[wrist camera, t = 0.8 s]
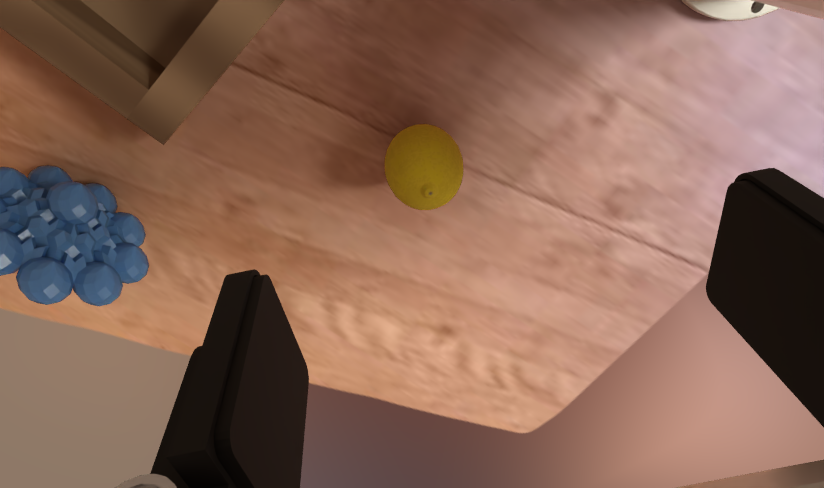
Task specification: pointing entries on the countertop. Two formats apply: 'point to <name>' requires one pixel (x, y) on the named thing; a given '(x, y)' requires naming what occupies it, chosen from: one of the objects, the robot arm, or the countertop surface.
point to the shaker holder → (140, 49)
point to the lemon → (424, 167)
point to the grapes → (66, 238)
